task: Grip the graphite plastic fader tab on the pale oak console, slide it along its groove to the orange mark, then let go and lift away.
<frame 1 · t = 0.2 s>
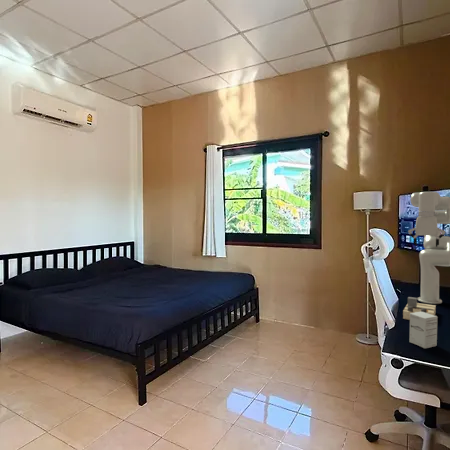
hand: (426, 246, 179), 36 cm above the table, tool pointing down, fingers open, 9 cm apart
fader tab: (412, 302, 176), point 7 cm above the table, slide at -3.5 cm
fader console: (419, 315, 175), on the table
supplement box: (422, 344, 138), on the table
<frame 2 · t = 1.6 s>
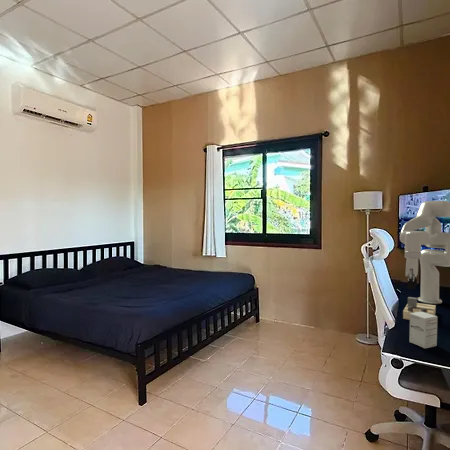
hand: (412, 287, 176), 15 cm above the table, tool pointing down, fingers open, 9 cm apart
nothing on the table moved.
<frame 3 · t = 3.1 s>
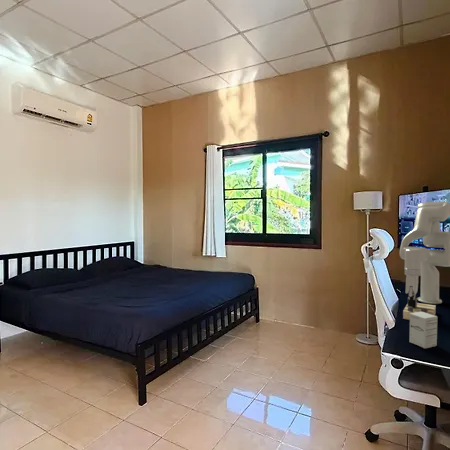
hand: (412, 305, 176), 5 cm above the table, tool pointing down, fingers closed on fader tab, 3 cm apart
fader tab: (412, 302, 176), point 7 cm above the table, slide at -3.5 cm, touching gripper
everything else where it was.
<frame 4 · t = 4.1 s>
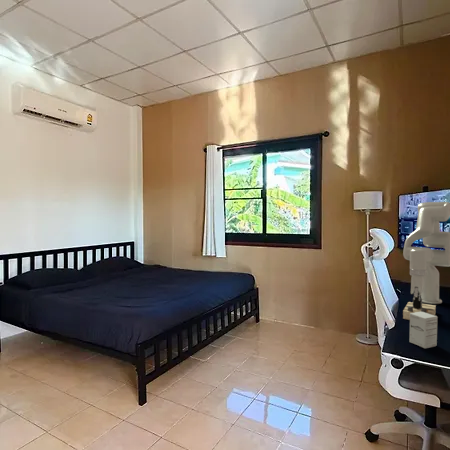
hand: (417, 306, 175), 5 cm above the table, tool pointing down, fingers closed on fader tab, 3 cm apart
fader tab: (417, 302, 175), point 7 cm above the table, slide at -1.1 cm, touching gripper
everything else where it was.
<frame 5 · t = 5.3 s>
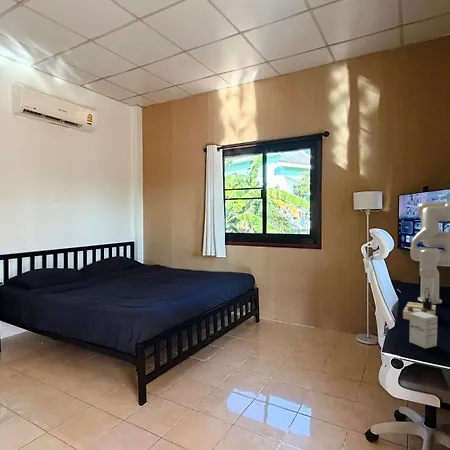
hand: (427, 307, 172), 5 cm above the table, tool pointing down, fingers closed on fader tab, 3 cm apart
fader tab: (427, 304, 172), point 7 cm above the table, slide at 3.5 cm, touching gripper
everything else where it was.
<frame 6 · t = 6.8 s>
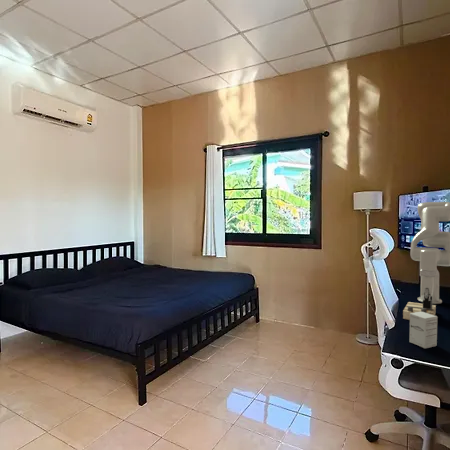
hand: (427, 305, 172), 6 cm above the table, tool pointing down, fingers open, 9 cm apart
fader tab: (427, 304, 172), point 7 cm above the table, slide at 3.5 cm
everything else where it was.
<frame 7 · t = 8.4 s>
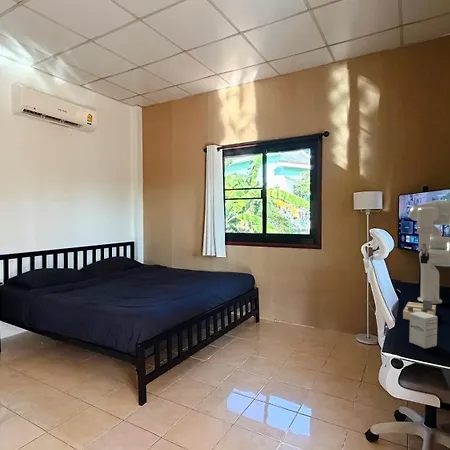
hand: (424, 261, 181), 27 cm above the table, tool pointing down, fingers open, 9 cm apart
nothing on the table moved.
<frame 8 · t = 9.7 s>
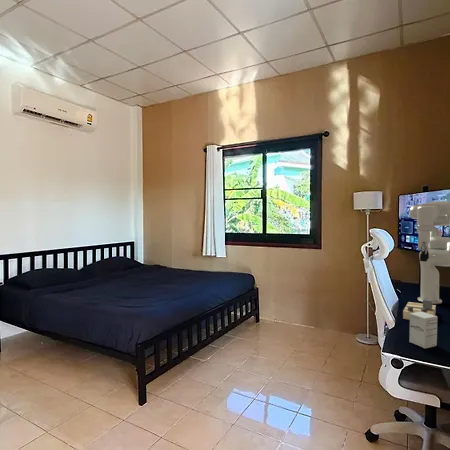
hand: (424, 260, 181), 28 cm above the table, tool pointing down, fingers open, 9 cm apart
nothing on the table moved.
at the end: fader tab slide at 3.5 cm; the gripper is holding nothing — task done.
